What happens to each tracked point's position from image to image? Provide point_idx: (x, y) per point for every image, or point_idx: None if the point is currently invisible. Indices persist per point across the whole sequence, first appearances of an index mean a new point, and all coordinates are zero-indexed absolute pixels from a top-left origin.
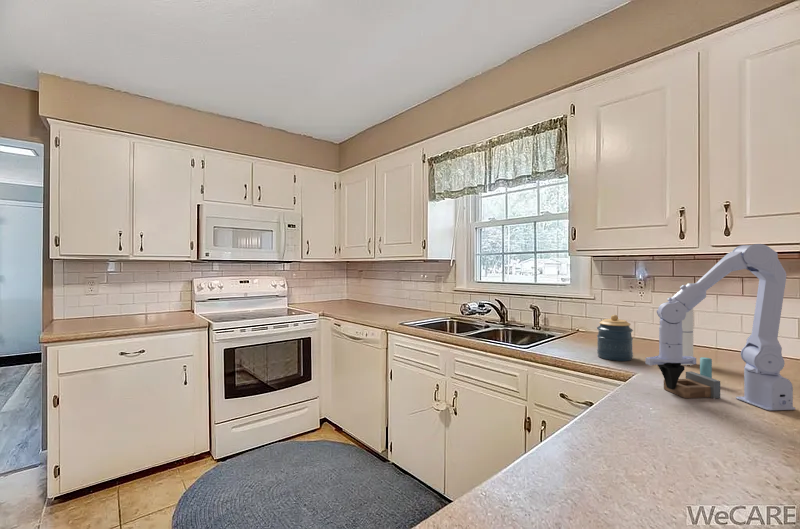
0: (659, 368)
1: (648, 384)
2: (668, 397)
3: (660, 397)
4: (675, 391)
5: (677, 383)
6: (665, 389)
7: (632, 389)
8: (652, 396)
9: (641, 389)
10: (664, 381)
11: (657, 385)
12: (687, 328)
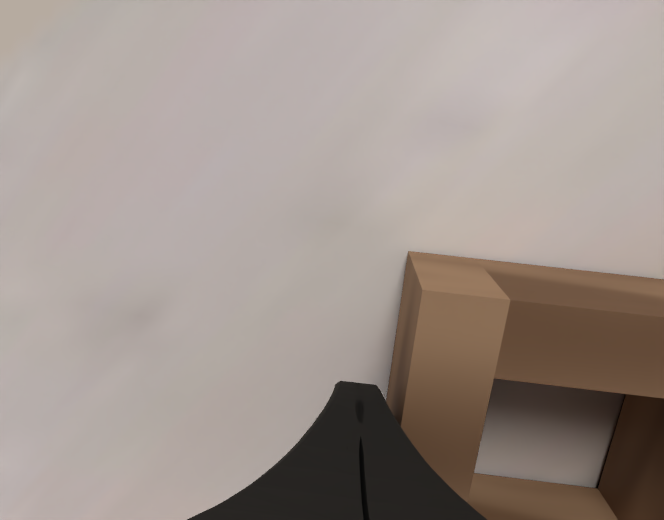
0: (213, 509)
1: (391, 28)
2: (247, 452)
3: (171, 436)
4: None
5: (441, 476)
6: (405, 278)
7: (47, 172)
8: (115, 400)
9: (152, 193)
10: (418, 294)
11: (473, 93)
12: None
